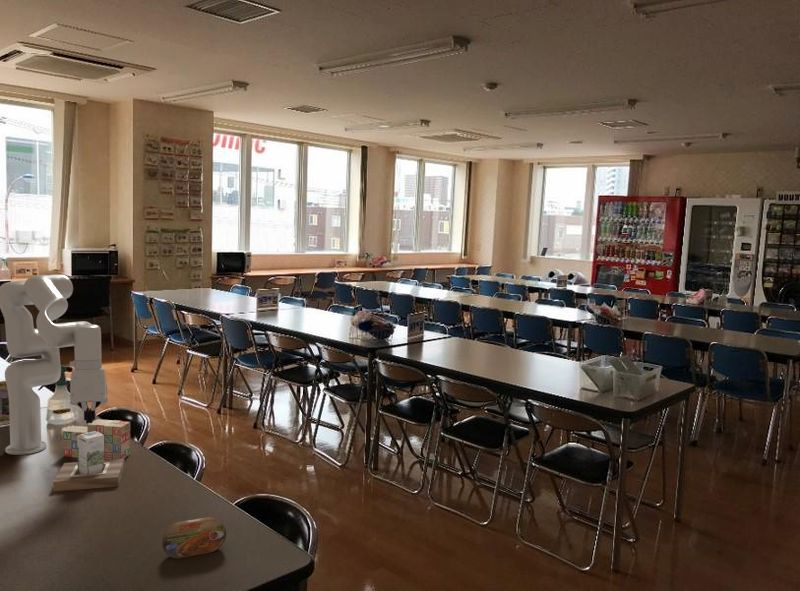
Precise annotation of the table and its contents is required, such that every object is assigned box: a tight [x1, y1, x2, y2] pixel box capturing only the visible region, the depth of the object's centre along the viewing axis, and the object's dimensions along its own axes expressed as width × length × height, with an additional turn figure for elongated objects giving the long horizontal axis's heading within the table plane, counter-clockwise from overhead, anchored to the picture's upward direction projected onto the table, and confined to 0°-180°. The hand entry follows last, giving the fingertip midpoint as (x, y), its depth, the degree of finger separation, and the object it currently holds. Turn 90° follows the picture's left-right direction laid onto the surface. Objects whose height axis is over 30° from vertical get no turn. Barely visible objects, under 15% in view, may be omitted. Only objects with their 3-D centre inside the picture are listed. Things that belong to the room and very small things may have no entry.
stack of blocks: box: [62, 419, 131, 460], centre depth 225 cm, size 21×6×12 cm, turn 83°
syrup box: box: [77, 431, 104, 475], centre depth 205 cm, size 6×6×14 cm
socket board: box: [52, 459, 125, 492], centre depth 205 cm, size 16×18×3 cm
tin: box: [161, 516, 227, 559], centre depth 161 cm, size 15×3×8 cm, turn 114°
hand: (89, 422), depth 203 cm, fingers closed
